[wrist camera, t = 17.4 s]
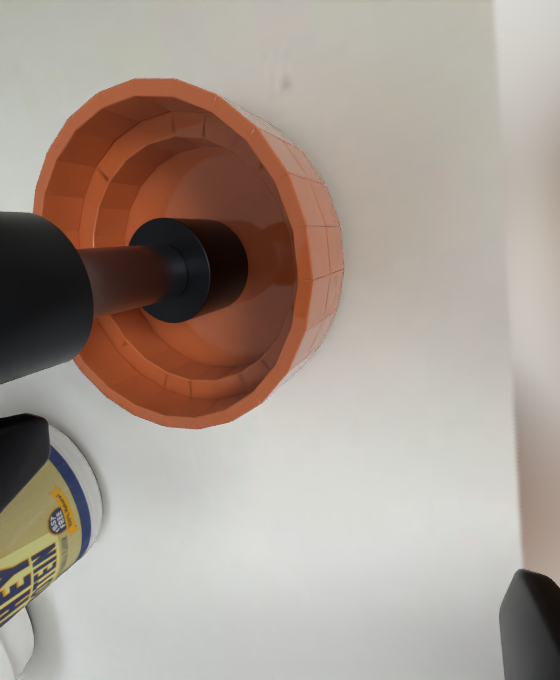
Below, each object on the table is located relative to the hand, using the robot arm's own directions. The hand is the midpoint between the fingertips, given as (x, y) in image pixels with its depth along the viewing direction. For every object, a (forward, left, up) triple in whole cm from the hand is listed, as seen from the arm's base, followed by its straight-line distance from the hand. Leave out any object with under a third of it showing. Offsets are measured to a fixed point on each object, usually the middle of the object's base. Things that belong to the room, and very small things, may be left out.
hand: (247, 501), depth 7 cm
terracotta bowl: (+3, -9, -13) cm, 16 cm away
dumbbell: (+3, -9, -12) cm, 15 cm away
